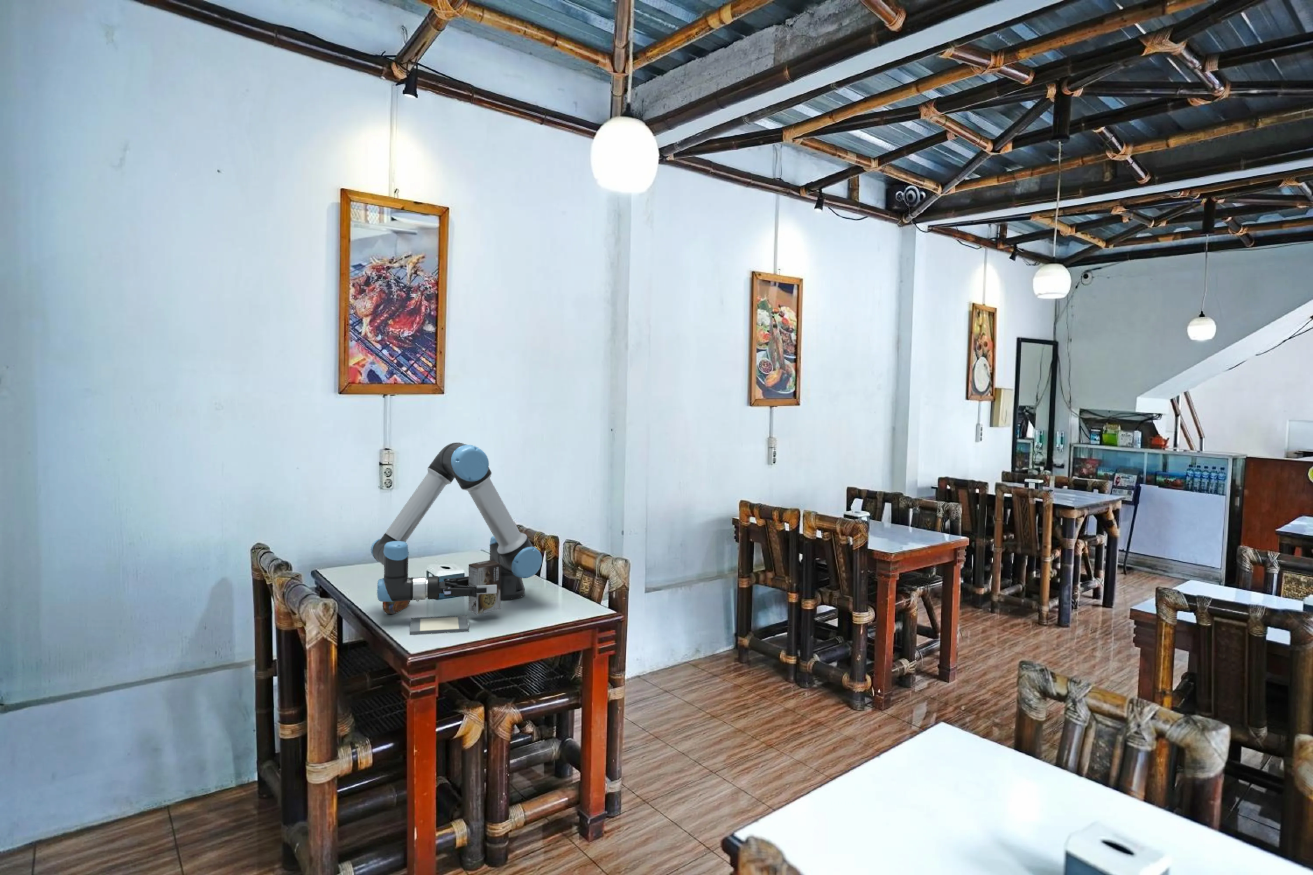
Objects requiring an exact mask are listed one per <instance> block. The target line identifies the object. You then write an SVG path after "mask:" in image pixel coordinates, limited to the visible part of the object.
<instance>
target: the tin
mask: <svg viewBox="0 0 1313 875" xmlns="http://www.w3.org/2000/svg"><path fill="white" fill-rule="evenodd" d="M410 603H411V600H409V601H395V602H382V610H383V613H386V614H387V615H395V614H398V613H399V612H401V611H403V610H405V609H406V608H407V607H409V605H410Z"/></svg>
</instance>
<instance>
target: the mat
mask: <svg viewBox="0 0 1313 875" xmlns="http://www.w3.org/2000/svg"><path fill="white" fill-rule="evenodd" d="M469 629H470V628H469V622H468V615H467V614H463V615H461V614H460V615H441V616H440V615H439V616H422V617H410V626H409V635H410V636H411V635H414V636H415V635H426V634H428V635H429V634H431V633H432V634H445V633H444V632H446V634H448V633H447V632H450V633H465V632H464V631H468V632H470V630H469ZM432 634H431V635H432Z"/></svg>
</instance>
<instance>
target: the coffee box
mask: <svg viewBox="0 0 1313 875" xmlns="http://www.w3.org/2000/svg"><path fill="white" fill-rule="evenodd" d="M500 569H501V564H500V563H497V562H495V561H492V560H490V559H489V560H483V561H479V562H473V563H469V564H468V576H469V586H472V587H477V586H481V585H497V593H492V594H477V597H470V596H468V605H467V606H468V611H470V612H472V613H473V614H476V615H482V614H486V613H490V612H494V611H497V610H501V608H502V607H501V600H500V598H501V597H500V595H501V592H500V583H501V581H500V577H501V575H500V574H501V572H500V571H501V570H500Z"/></svg>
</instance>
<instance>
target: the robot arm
mask: <svg viewBox="0 0 1313 875" xmlns="http://www.w3.org/2000/svg"><path fill="white" fill-rule="evenodd" d="M489 466H490V461H489V458H488V456H487V454H486V452H484V450H483V449H481V448H479V447H478V446H476V445H473V444H466V443H463V442H452V443H449V444H447V445H446V446H444V447H443V448H442V449H441V450H440V451H439V452H438V454H437V455H436V456H435V457H434V459H432V461H431V463H430V464H429V466H428V467H427V473H426V475H425V476H424V477H423V479H422V481H421V482H420V483H419V485H418V486H417V488H416V489H415V491H414V492H413V493H412V495H411V496H410V497H409V498H408V500H407V501H406V503H405V504H404V505H403V507H402V509H401V510H400V512H398V514H397V516H396V517H395V519H394V520H393V522H391V524H390V526H389V527H388V529H387V530H386V531H385V532H384V533H383V535H382V536H381V538H378V539H377V540H375V541H374V542H373V543H372V544H371V546H370V554H371V556H372V557H373V558H374V559H375V561H377V562H379V563H380V564H381V565H382V566H383V577H382V578H379V579H378V581H377V588H376V589H377V590H376V591H377V592H376V595H377V598H376V599H377V600H378V602H382V603H383V602H395V601H409V600H410V601H415V602H418V603H419V602H420V601H422V600H424V601H425V600H426V599H427V600H429V601H430V600H439V599H440V594H442V595H443V596H444V598H445V597H446V598H447V597H469V596H470V597H477V594H492V593H497V585H481V586H477V587H472V586H469V575H468V576H460V577H459V576H458V577H451V578H448V577H446V578H443V581H442V580H441V581H440V577H439V576H436V575H435V576H428V577H427V576H415V577H409V555H410V554H409V553H410V552H409V544H408V543H407V541H408V540H409V538H410V537H411V535H412V534H413V532H414V531H415V529H416V528H417V527H418V525H419V524H420V523H421V522H422V520H423V518H424V517H425V515H426V514H427V513H428V511H429V510H430V508H431V507H432V506H433V504H434V503H435V501H436V500H437V499H438V497H439V495H440V494H441V493H442V491H443V490H444V488H445V487H446V486H447V485H451V484H452V482H453V481H454V480H456V482H457V485H458V486H459V487H460V489H461V490H463V491H467V492H468V494H469V495H470V497H471V499H472V501H473V503H474V504H475V506H476V508H477V510H478V511H479V513H480V515H481V516H482V518H483V520H484V522H485V523H486V525H487V527H488V529H489V530H490V531H491V532H490V533H492V536H491V537H490V540H489V560H492V561H495V562H497V563H500V564H501V569H500V570H501V571H500V572H501V574H500V575H501V577H500V581H501V583H500V592H501V595H500V597H501V598H500V601H509V600H516V599H520V598H523V597H524V596H525V592H526V590H525V585H524V582H523V579H528V578H529V579H530V578H531V577H533V576H535V575H536V574H537V573H538V572H539V570H540V569H541V565H542V564H543V557H542V553H541V551H540V550H538V548H537V547H535V546H533V544H532V542H531V541H530V539H529V537H528V536H527V534H526V533H523V532H520V530H519V528H518V526H517V525H516V523H515V521H514V519H513V518H512V515H511V514H510V512H509V510H508V508H507V507H506V505H505V503H504V501H503V500H502V498H501V496H500V494H499V492H498V490H497V488H496V487H495V485H494V483H493V482H492V480H491V477H492V470H491V469H490V467H489Z"/></svg>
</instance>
